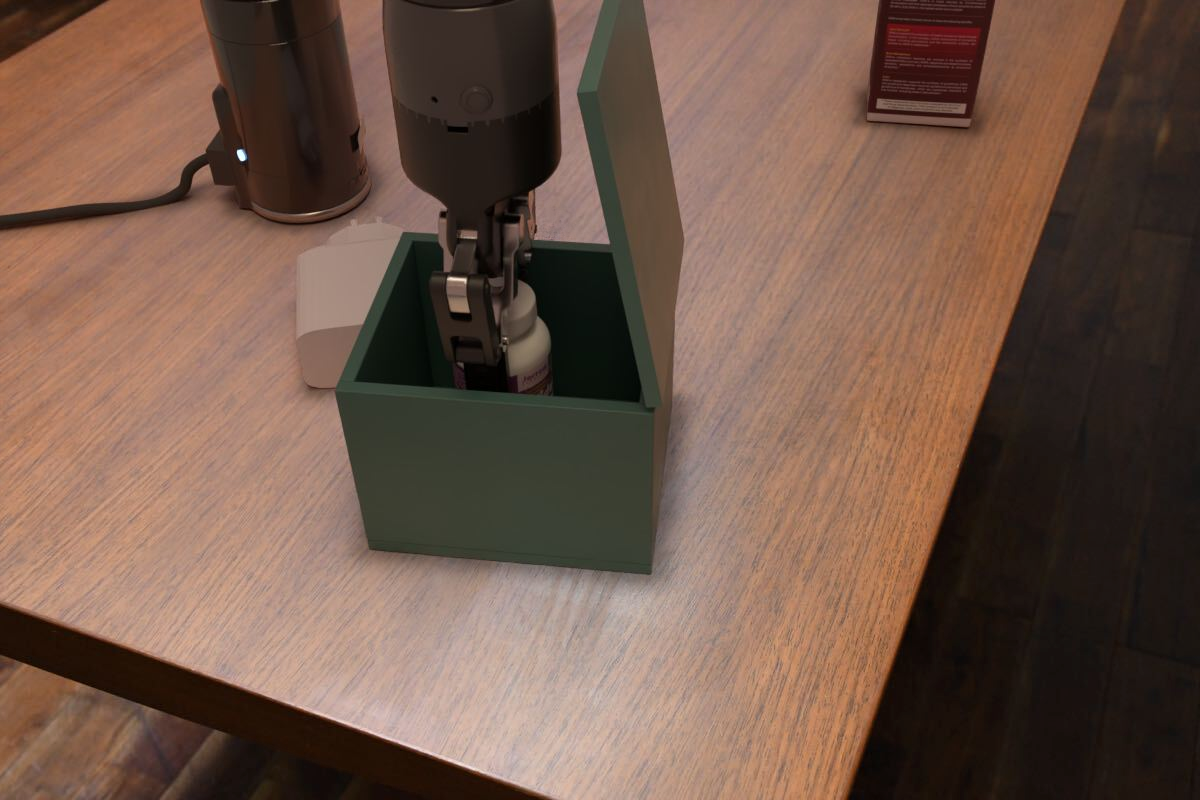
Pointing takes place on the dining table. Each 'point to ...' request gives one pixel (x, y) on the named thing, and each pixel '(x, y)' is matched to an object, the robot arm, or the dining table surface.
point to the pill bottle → (523, 347)
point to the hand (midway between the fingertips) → (500, 359)
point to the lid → (634, 182)
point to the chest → (506, 426)
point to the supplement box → (927, 60)
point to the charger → (339, 295)
